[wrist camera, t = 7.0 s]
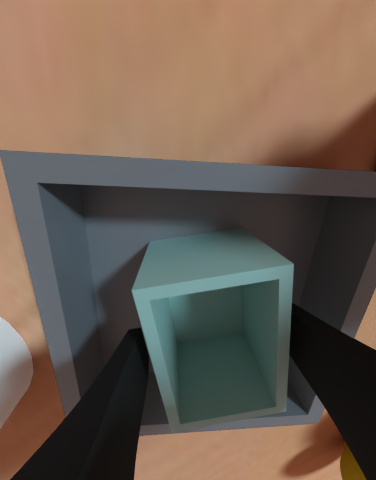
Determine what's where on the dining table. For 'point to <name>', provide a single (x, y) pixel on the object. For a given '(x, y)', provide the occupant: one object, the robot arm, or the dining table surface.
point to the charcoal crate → (172, 226)
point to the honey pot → (12, 369)
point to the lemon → (350, 466)
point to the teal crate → (216, 326)
